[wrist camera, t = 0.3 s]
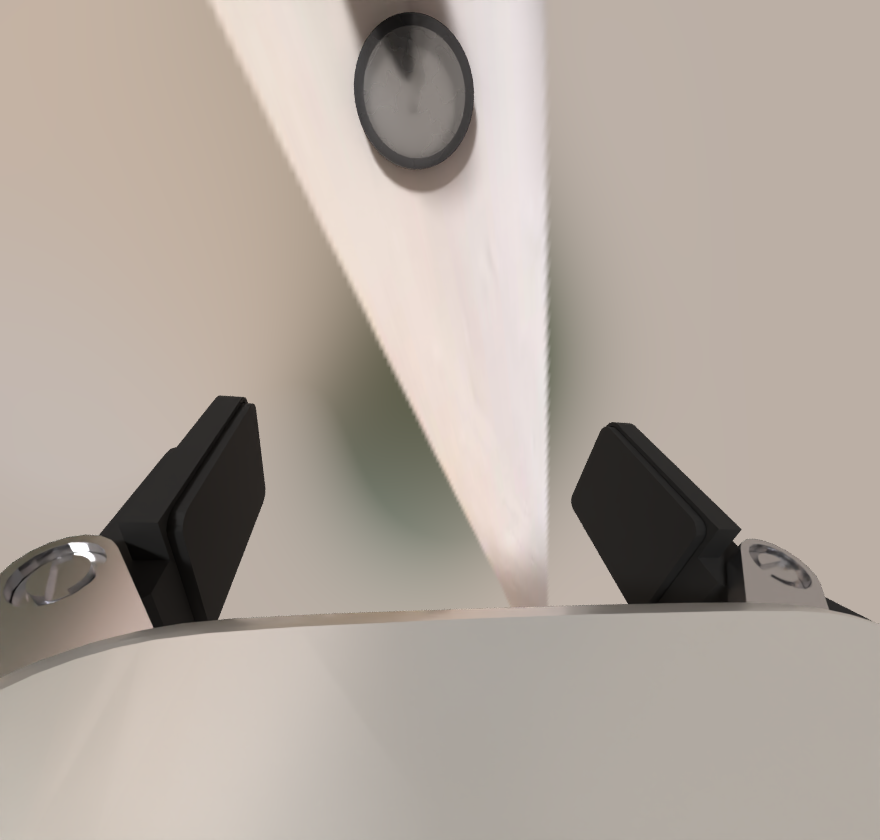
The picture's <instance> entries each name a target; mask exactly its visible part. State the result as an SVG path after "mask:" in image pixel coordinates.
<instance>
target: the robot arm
mask: <svg viewBox="0 0 880 840" xmlns="http://www.w3.org/2000/svg"><path fill="white" fill-rule="evenodd" d="M264 497H265V482H264V473H263V464H262V456H261V447H260V439H259V431H258V422H257V415H256V407H255V405H254V404H250V403H248V402H247V400H246V398H244V397H234V396H218V397H216V398H215V400H214V401H213V402H212V403H211V405H210V406H209V407H208V409H207V410H206V411H205V412H204V414H203V415H202V416H201V417H200V419H199V420H198V421H197V422H196V424H195V425H194V426H193V427H192V429H191V430H190V431H189V432H188V434H187V435H186V436H185V438H184V439H183V440H182V441H181V443H180V444H179V445H178V446H177V447H175V448H172V449H170V450H169V451H168V452H167V453H166V454H165V455H164V456H163V458H162V459H161V460H160V461H159V463H158V464H157V465H156V466H155V467H154V469H153V470H152V471H151V472H150V474H149V475H148V476H147V477H146V478H145V480H144V481H143V482H142V483H141V485H140V486H139V487H138V488H137V489H136V491H135V492H134V493H133V494H132V495H131V497H130V498H129V499H128V500H127V502H126V503H125V504H124V505H123V507H122V508H121V509H120V510H119V511H118V513H117V514H116V515H115V516H114V518H113V519H112V520H111V521H110V523H109V524H108V525H107V526H106V527H105V529H104V530H103V531H102V532H101V533H100V535H80V536H72V537H67V538H63V539H60V540H57V541H53V542H50V543H47V544H45V545H43V546H41V547H39V548H36V549H34V550H32V551H30V552H28V553H27V554H25V555H24V556H22V557H20V558H19V559H17V560H16V561H14V562H13V563H12V564H10V565H9V566H8V567H7V568H6V569H5V570H4V571H3V572H1V573H0V840H880V624H879V623H876V622H873V621H871V620H869V619H867V618H865V617H863V616H861V615H859V614H857V613H855V612H853V611H851V610H849V609H847V608H845V607H843V606H841V605H839V604H837V603H835V602H833V601H831V600H829V599H828V598H826V597H825V596H824V593H823V590H822V587H821V584H820V582H819V580H818V578H817V576H816V575H815V574H814V573H813V572H812V571H811V570H810V568H809V567H808V566H807V565H805V564H804V563H803V562H802V561H801V560H799V559H798V558H797V557H795V556H794V555H792V554H791V553H789V552H788V551H786V550H784V549H782V548H780V547H778V546H776V545H774V544H771V543H769V542H766V541H763V540H758V539H746V540H745V541H743V542H742V543H741V544H740V545H739V546H737V545H736V544H735V543H734V542H733V539H734V538H735V537H736V536H737V534H738V533H739V532H740V531H741V528H740V527H739V526H737V524H735V522H733V521H732V520H731V519H730V518H729V517H728V516H727V515H726V514H725V513H724V512H723V511H722V510H721V509H720V508H719V507H718V506H717V505H716V504H715V503H714V502H713V501H711V499H710V498H709V497H708V496H706V495H705V494H704V493H703V492H702V491H701V490H700V489H699V488H698V487H697V486H696V485H695V484H694V483H693V482H692V481H691V480H690V479H689V478H688V477H687V476H686V475H685V474H684V473H683V472H682V471H681V470H680V469H679V468H678V467H677V466H676V465H675V464H674V463H673V462H671V461H670V460H669V459H668V458H667V457H666V456H665V455H664V454H663V453H662V452H661V451H660V450H659V449H658V448H657V447H656V446H655V445H654V444H653V443H652V442H651V441H650V440H649V439H648V438H647V437H646V436H645V435H644V434H643V433H642V432H640V430H638V429H637V428H636V427H635V426H634V425H633V424H630V423H615V422H612V423H609V424H608V425H607V426H606V427H604V428H603V429H602V430H601V431H600V433H599V436H598V438H597V440H596V442H595V445H594V447H593V449H592V452H591V454H590V456H589V459H588V461H587V463H586V465H585V468H584V470H583V472H582V474H581V477H580V479H579V481H578V483H577V486H576V488H575V490H574V493H573V495H572V499H571V503H572V507H573V509H574V511H575V513H576V515H577V516H578V518H579V520H580V522H581V523H582V525H583V527H584V529H585V530H586V532H587V534H588V536H589V537H590V539H591V541H592V542H593V544H594V546H595V548H596V549H597V551H598V553H599V555H600V556H601V558H602V560H603V561H604V563H605V565H606V567H607V568H608V570H609V572H610V574H611V575H612V577H613V579H614V580H615V582H616V583H617V586H618V587H619V589H620V591H621V593H622V594H623V596H624V598H625V599H626V601H627V603H628V604H618V605H582V606H581V605H579V606H543V607H510V608H477V609H447V610H418V611H389V612H362V613H361V612H360V613H332V614H311V615H291V616H273V617H253V618H234V619H224V620H218V618H219V616H220V613H221V610H222V608H223V605H224V603H225V600H226V597H227V595H228V592H229V590H230V587H231V584H232V582H233V579H234V577H235V574H236V572H237V569H238V566H239V564H240V561H241V558H242V556H243V553H244V551H245V548H246V546H247V543H248V540H249V537H250V535H251V533H252V530H253V527H254V525H255V522H256V520H257V517H258V514H259V512H260V509H261V507H262V504H263V501H264Z"/></svg>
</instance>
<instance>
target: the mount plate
mask: <svg viewBox="0 0 880 840" xmlns="http://www.w3.org/2000/svg"><path fill="white" fill-rule="evenodd" d="M354 95H355V103H356V108H357V112H358V116H359V119H360V122H361V125H362V127H363V129H364V131H365V134H366V135H367V137H368V139H369V140H370V142H371V143H372V145H373V146H374V147H375V149H376V150H377V151H378V152H379V153H380V154H381V155H382V156H383V157H385V158H386V159H387V160H388V161H390V162H392V163H393V164H395V165H398V166H400V167H403V168H407V169H425V168H429V167H432V166H434V165H437V164H439V163H440V162H442V161H444V160H445V159H446V158H448V157H449V156H450V155H451V154H452V153H453V152H454V151H455V150H456V148H457V147H458V146H459V145H460V143H461V141H462V140H463V138H464V136H465V134H466V132H467V129H468V126H469V123H470V120H471V116H472V111H473V102H474V88H473V79H472V74H471V69H470V66H469V63H468V60H467V57H466V55H465V53H464V50H463V49H462V47H461V45H460V43H459V42H458V40H457V39H456V38H455V36H454V35H453V34H452V33H451V31H450V30H449V29H448V28H447V27H446V26H444V25H443V24H442V23H440V22H439V21H438V20H436V19H434V18H432V17H430V16H427V15H425V14H421V13H415V12H406V13H401V14H397V15H394V16H392V17H389V18H388V19H386V20H384V21H383V22H381V23H380V24H379V25H378V26H377V27H376V28H375V29H374V30H373V31H372V33H371V34H370V35H369V36H368V38H367V40H366V41H365V43H364V45H363V47H362V49H361V52H360V54H359V57H358V61H357V64H356V70H355V78H354Z"/></svg>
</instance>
